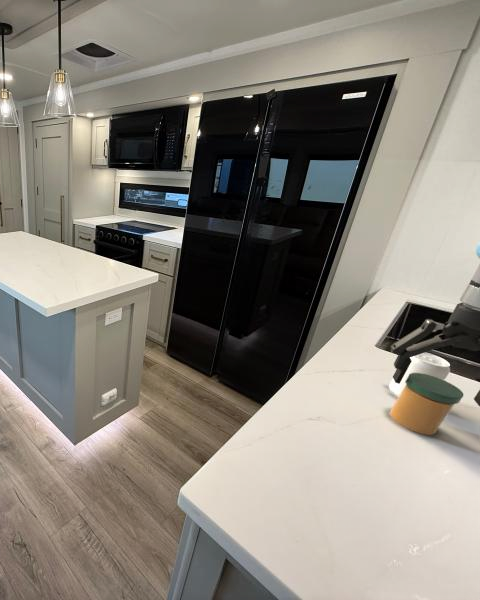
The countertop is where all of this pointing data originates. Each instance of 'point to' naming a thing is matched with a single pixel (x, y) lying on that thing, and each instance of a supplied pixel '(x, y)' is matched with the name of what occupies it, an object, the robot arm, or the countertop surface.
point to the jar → (419, 412)
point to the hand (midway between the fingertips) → (435, 391)
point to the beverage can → (423, 369)
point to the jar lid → (434, 388)
